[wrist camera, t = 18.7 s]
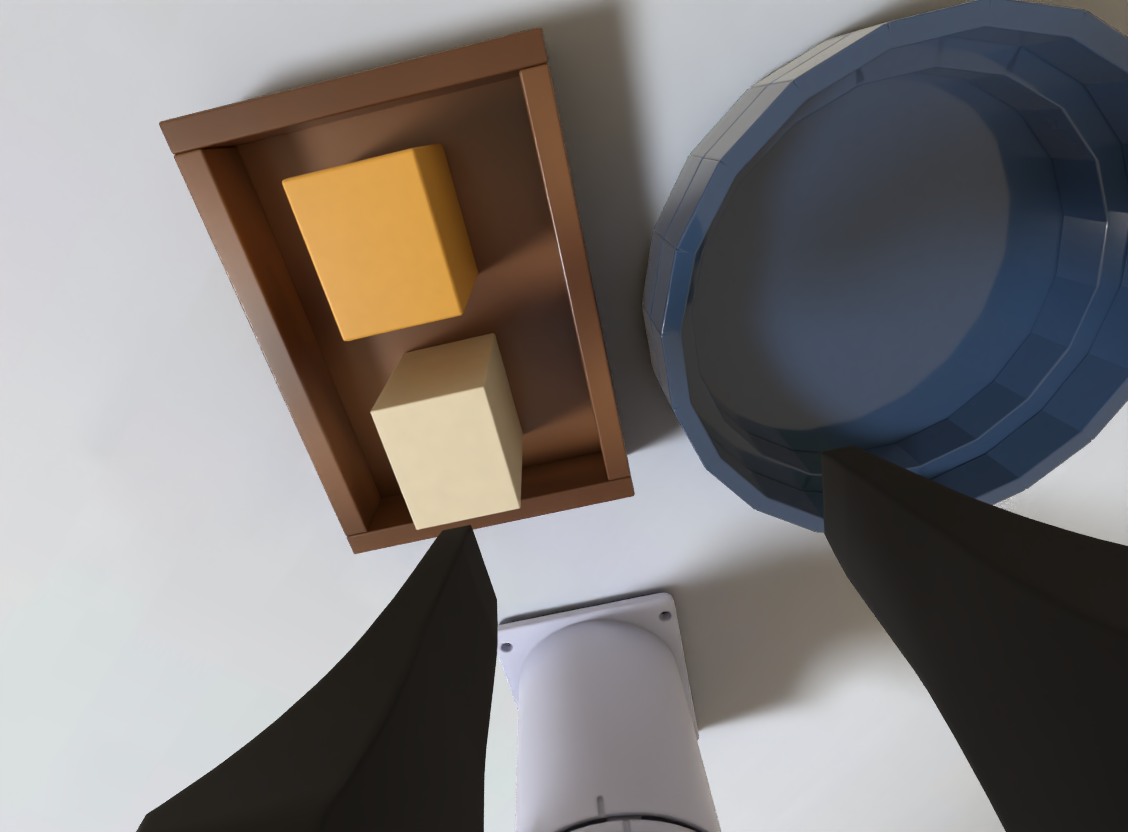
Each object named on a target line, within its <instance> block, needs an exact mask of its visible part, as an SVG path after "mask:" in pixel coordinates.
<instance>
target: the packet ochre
mask: <svg viewBox="0 0 1128 832" xmlns="http://www.w3.org/2000/svg"><path fill="white" fill-rule="evenodd" d="M282 185H283V187H284V190H285V192H286V195H287V198H288V200H289V203H290V205H291V208H292V210H293V213H294V215H295V218H296V221H297V223H298V226H299V228H300V231H301V233H302V236H303V238H304V241H305V244H306V246H307V249H308V251H309V254H310V256H311V259H312V261H313V264H314V267H315V269H316V272H317V274H318V277H319V279H320V282H321V284H322V287H323V290H324V292H325V295H326V297H327V300H328V302H329V305H330V308H331V310H332V313H333V315H334V318H335V320H336V323H337V325H338V328H339V331H340V333H341V336H342V338H343V340H344V341H351V340H355V339H359V338H364V337H368V336H373V335H377V334H381V333H386V332H390V331H395V330H399V329H403V328H408V327H412V326H417V325H421V324H425V323H430V322H434V321H439V320H443V319H447V318H452V317H456V316H461V315H462V314H463V312H464V310H465V307H466V305H467V302H468V299H469V297H470V294H471V291H472V289H473V286H474V283H475V281H476V278H477V276H478V270H477V266H476V263H475V259H474V256H473V252H472V248H471V245H470V241H469V238H468V234H467V230H466V227H465V223H464V220H463V216H462V212H461V209H460V205H459V202H458V198H457V194H456V191H455V187H454V184H453V180H452V176H451V173H450V169H449V166H448V162H447V158H446V155H445V151H444V148H443V145H442V144H440V143H438V144H432V145H427V146H421V147H415V148H410V149H406V150H402V151H397V152H393V153H389V154H385V155H381V156H377V157H373V158H369V159H364V160H360V161H356V162H352V163H348V164H344V165H340V166H336V167H332V168H327V169H323V170H319V171H315V172H311V173H307V174H303V175H299V176H294V177H290V178H286V179H284V180H283V181H282Z"/></svg>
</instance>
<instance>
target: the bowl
mask: <svg viewBox="0 0 1128 832" xmlns="http://www.w3.org/2000/svg"><path fill="white" fill-rule="evenodd" d="M654 230H655V231H653V234H652V241H651V247H650V254H649V260H648V267H647V273H646V279H645V286H644V292H643V299H642V303H643V304H642V309H643V315H644V321H645V327H646V333H647V339H648V345H649V351H650V357H651V363H652V368H653V371H654V373H655V375H656V377H657V379H658V382H659V384H660V386H661V388H662V390H663V392H664V394H665V396H666V398H667V400H668V402H669V404H670V406H671V408H672V410H673V412H674V414H675V416H676V417H677V419H678V421H679V423H680V425H681V426H682V428H683V430H684V432H685V433H686V435H687V437H688V439H689V441H690V442H691V444H692V446H693V448H694V449H695V451H696V453H697V455H698V457H699V458H700V460H701V462H702V464H703V465H704V467H705V468H706V470H708V471H709V472H710V473H711V474H712V475H714V476H715V477H716V478H717V479H718V480H720V481H721V482H722V483H723V484H724V485H726V486H727V487H728V488H729V489H730V490H732V491H733V492H734V493H735V494H736V495H738V496H739V497H740V498H741V499H742V500H744V501H745V502H746V503H747V504H748V505H750V506H751V507H752V508H753V509H756V510H757V511H760V512H763V513H766V514H768V515H771V516H774V517H776V518H779V519H782V520H784V521H787V522H790V523H793V524H795V525H798V526H801V527H803V528H806V529H809V530H811V531H814V532H821V533H824V509H823V484H822V458H821V452H822V451H827V450H832V449H837V448H842V447H847V446H851V445H852V446H855V447H858V448H860V449H863V450H865V451H867V452H870V453H872V454H874V455H876V456H879V457H881V458H883V459H885V460H888V461H890V462H892V463H894V464H896V465H898V466H901V467H903V468H905V469H907V470H909V471H912V472H914V473H916V474H918V475H920V476H923V477H925V478H927V479H929V480H932V481H934V482H936V483H939V484H941V485H943V486H946V487H948V488H950V489H953V490H955V491H957V492H960V493H962V494H965V495H967V496H970V497H972V498H975V499H977V500H980V501H983V502H985V503H988V504H990V505H994V504H996V503H998V502H1000V501H1003V500H1005V499H1007V498H1009V497H1011V496H1014V495H1016V494H1018V493H1020V492H1022V491H1024V490H1025V488H1026V489H1028V488H1029V487H1031V486H1032V485H1033V484H1035V483H1036V482H1037V481H1039V480H1040V479H1041V478H1043V477H1044V476H1046V475H1047V474H1048V473H1050V472H1051V471H1052V470H1054V469H1055V468H1056V467H1058V466H1059V465H1060V464H1062V463H1063V462H1064V461H1066V460H1067V459H1068V458H1070V457H1071V456H1072V455H1074V454H1075V453H1077V452H1078V451H1079V450H1081V449H1082V448H1083V447H1085V446H1086V445H1087V444H1089V443H1090V442H1091V440H1093V439H1095V437H1096V436H1097V435H1098V434H1099V433H1100V432H1101V431H1102V429H1103V428H1104V427H1105V426H1106V425H1107V424H1108V423H1109V421H1110V420H1111V419H1112V418H1113V417H1114V416H1115V415H1116V413H1117V412H1118V411H1119V410H1120V409H1121V408H1122V407H1123V405H1124V404H1125V403H1126V402H1127V401H1128V37H1127V36H1125V35H1124V34H1122V33H1121V32H1119V31H1118V30H1116V29H1114V28H1113V27H1111V26H1110V25H1108V24H1107V23H1105V22H1104V21H1102V20H1101V19H1099V18H1098V17H1096V16H1095V15H1093V14H1092V13H1090V12H1088V11H1085V10H1084V9H1079V8H1071V7H1064V6H1056V5H1049V4H1042V3H1034V2H1027V1H1019V0H974V1H970V2H966V3H962V4H958V5H954V6H950V7H946V8H941V9H937V10H933V11H929V12H925V13H921V14H917V15H913V16H909V17H904V18H900V19H896V20H892V21H888V22H885V23H882V24H878V25H875V26H872V27H868V28H865V29H861V30H858V31H855V32H851V33H848V34H844V35H841V36H838V37H834V38H831V39H828V40H826V41H824V42H822V43H820V44H819V45H817V46H816V47H814V48H812V49H811V50H809V51H807V52H806V53H804V54H803V55H801V56H799V57H798V58H796V59H795V60H793V61H791V62H790V63H788V64H787V65H785V66H783V67H782V68H780V69H778V70H777V71H775V72H774V73H772V74H770V75H769V76H767V77H766V78H764V79H762V80H761V81H759V82H758V83H756V84H754V85H753V86H752V87H751V88H750V89H747V90H746V91H745V93H744V94H743V95H742V96H741V97H740V98H739V99H738V100H737V102H736V103H735V104H734V105H733V106H732V107H731V108H730V109H729V110H728V112H727V113H726V114H725V115H724V116H723V117H722V118H721V119H720V121H719V122H718V123H717V124H716V125H715V126H714V127H713V128H712V130H711V131H710V132H709V133H708V134H707V135H706V136H705V137H704V139H703V140H702V141H701V142H700V143H699V144H698V145H697V146H696V148H695V149H694V150H693V151H692V152H691V153H690V155H689V156H688V158H687V160H686V162H685V164H684V166H683V168H682V171H681V173H680V175H679V177H678V179H677V181H676V183H675V185H674V187H673V189H672V191H671V193H670V196H669V198H668V200H667V202H666V204H665V206H664V208H663V210H662V212H661V214H660V216H659V218H658V221H657V223H656V225H655V227H654Z"/></svg>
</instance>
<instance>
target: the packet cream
mask: <svg viewBox="0 0 1128 832" xmlns="http://www.w3.org/2000/svg"><path fill="white" fill-rule="evenodd" d="M371 415H372V418H373V420H374V423H375V425H376V428H377V430H378V433H379V436H380V438H381V441H382V443H383V446H384V448H385V451H386V453H387V456H388V459H389V461H390V464H391V466H392V469H393V471H394V474H395V476H396V479H397V481H398V484H399V487H400V489H401V492H402V494H403V497H404V499H405V502H406V504H407V507H408V510H409V512H410V515H411V517H412V520H413V522H414V525H415V527H416V529H417V530H419V529H424V528H428V527H433V526H438V525H443V524H447V523H452V522H457V521H462V520H466V519H471V518H476V517H481V516H485V515H490V514H495V513H500V512H505V511H509V510H514V509H519V508H520V506H521V477H522V449H523V433H522V429H521V425H520V422H519V418H518V415H517V411H516V407H515V404H514V400H513V397H512V393H511V389H510V386H509V382H508V379H507V375H506V371H505V368H504V364H503V361H502V357H501V354H500V350H499V346H498V343H497V339H496V336H495V333H491V334H487V335H482V336H478V337H473V338H469V339H464V340H460V341H456V342H451V343H447V344H442V345H438V346H433V347H429V348H425V349H420V350H416V351H411V352H407V353H404V354H403V356H402V358H401V359H400V361H399V363H398V365H397V366H396V368H395V370H394V372H393V373H392V375H391V377H390V378H389V380H388V382H387V384H386V385H385V387H384V389H383V391H382V392H381V394H380V396H379V398H378V399H377V401H376V403H375V405H374V406H373V408H372V410H371Z"/></svg>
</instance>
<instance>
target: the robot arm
mask: <svg viewBox="0 0 1128 832" xmlns="http://www.w3.org/2000/svg"><path fill="white" fill-rule="evenodd" d="M821 458H822V484H823V509H824V534H825V536H826V538H827V540H828V542H829V544H830V546H831V548H832V550H833V552H834V554H835V556H836V557H837V559H838V561H839V563H840V565H841V567H842V568H843V570H844V572H845V574H846V576H847V577H848V579H849V580H850V582H851V583H852V584H853V586H854V587H855V589H856V590H857V592H858V593H859V594H860V596H861V597H862V599H863V600H864V601H865V603H866V604H867V606H868V607H869V608H870V610H871V611H872V613H873V614H874V615H875V617H876V618H877V619H878V621H879V622H880V624H881V625H882V626H883V628H884V629H885V631H886V632H887V633H888V635H889V636H890V637H891V639H892V640H893V642H894V643H895V644H896V646H897V647H898V648H899V650H900V651H901V653H902V654H903V655H904V657H905V658H906V660H907V661H908V662H909V664H910V665H911V666H912V668H913V669H914V671H915V672H916V674H917V675H918V677H919V678H920V680H921V681H922V683H923V684H924V686H925V687H926V689H927V690H928V692H929V694H930V695H931V697H932V699H933V701H934V702H935V704H936V706H937V708H938V709H939V711H940V713H941V714H942V716H943V718H944V720H945V721H946V723H947V725H948V726H949V728H950V730H951V732H952V733H953V735H954V737H955V739H956V740H957V742H958V744H959V746H960V748H961V749H962V751H963V753H964V755H965V757H966V758H967V760H968V762H969V764H970V766H971V767H972V769H973V771H974V773H975V775H976V777H977V778H978V780H979V782H980V784H981V786H982V787H983V789H984V791H985V793H986V795H987V797H988V798H989V800H990V802H991V804H992V806H993V808H994V810H995V812H996V814H997V816H998V818H999V820H1000V821H1001V823H1002V825H1003V827H1004V829H1005V831H1006V832H1128V546H1125V545H1121V544H1117V543H1113V542H1109V541H1105V540H1101V539H1097V538H1093V537H1089V536H1086V535H1082V534H1078V533H1075V532H1071V531H1068V530H1065V529H1062V528H1058V527H1055V526H1052V525H1049V524H1046V523H1042V522H1039V521H1036V520H1033V519H1029V518H1026V517H1024V516H1021V515H1018V514H1015V513H1012V512H1009V511H1006V510H1004V509H1001V508H998V507H996V506H993V505H990V504H988V503H985V502H983V501H980V500H977V499H975V498H972V497H970V496H967V495H965V494H962V493H960V492H957V491H955V490H953V489H950V488H948V487H946V486H943V485H941V484H939V483H936V482H934V481H932V480H929V479H927V478H925V477H923V476H920V475H918V474H916V473H914V472H912V471H909V470H907V469H905V468H903V467H901V466H898V465H896V464H894V463H892V462H890V461H888V460H885V459H883V458H881V457H879V456H876V455H874V454H872V453H870V452H867V451H865V450H863V449H860V448H858V447H855V446H852V445H851V446H847V447H842V448H837V449H832V450H827V451H822V452H821ZM664 611H668V613H666V614H661V613H662V612H664ZM504 643H510V645H505V644H504ZM497 654H498V656H499V659H500V662H501V665H502V668H503V670H504V673H505V676H506V679H507V681H508V684H509V687H510V690H511V693H512V695H513V698H514V701H515V704H516V706H517V709H518V736H517V773H516V810H515V832H721V829H720V825H719V821H718V817H717V814H716V810H715V806H714V802H713V798H712V795H711V791H710V787H709V783H708V780H707V776H706V772H705V768H704V765H703V761H702V757H701V753H700V750H699V746H698V742H697V741H698V739H699V734H698V728H697V723H696V717H695V712H694V706H693V701H692V695H691V690H690V684H689V679H688V673H687V668H686V662H685V657H684V651H683V646H682V640H681V635H680V629H679V624H678V618H677V613H676V608H675V603H674V599H673V597H672V596H671V595H670V594H668V593H657V594H652V595H647V596H642V597H637V598H632V599H627V600H622V601H617V602H612V603H607V604H602V605H597V606H592V607H587V608H582V609H577V610H572V611H567V612H562V613H557V614H552V615H547V616H542V617H537V618H532V619H527V620H522V621H517V622H512V623H507V624H502V625H499V626H498V621H497V599H496V596H495V593H494V590H493V587H492V584H491V581H490V578H489V575H488V573H487V570H486V567H485V564H484V561H483V558H482V555H481V552H480V549H479V547H478V544H477V541H476V538H475V535H474V532H473V529H472V526H471V525H466V526H462V527H457V528H452V529H447V530H442V532H441V533H440V534H439V536H438V537H437V538H436V540H435V541H434V543H433V544H432V545H431V547H430V548H429V550H428V551H427V553H426V554H425V555H424V557H423V558H422V560H421V561H420V562H419V564H418V565H417V567H416V568H415V570H414V571H413V572H412V574H411V575H410V576H409V578H408V579H407V581H406V582H405V583H404V585H403V586H402V587H401V589H400V590H399V591H398V593H397V594H396V596H395V597H394V598H393V599H392V601H391V602H390V603H389V604H388V606H387V607H386V608H385V609H384V611H383V612H382V613H381V614H380V615H379V617H378V618H377V619H376V620H375V622H374V623H373V624H372V625H371V627H370V628H369V629H368V630H367V631H366V633H365V634H364V635H363V636H362V637H361V638H360V640H359V641H358V642H357V643H356V644H355V645H354V646H353V647H352V648H351V650H350V651H349V652H348V653H347V654H346V655H345V656H344V657H343V658H342V659H341V660H340V661H339V662H338V663H337V664H336V665H335V666H334V667H333V668H332V669H331V670H330V671H329V672H328V673H327V674H326V675H325V676H324V677H323V678H322V679H321V680H320V681H319V682H318V683H317V684H316V685H315V686H314V687H313V688H312V689H311V690H309V691H308V692H307V693H306V694H305V695H304V696H303V697H302V698H301V699H299V700H298V701H297V702H296V703H295V704H294V705H293V706H292V707H291V708H289V709H288V710H287V711H286V712H285V713H284V714H283V715H282V716H281V717H279V718H278V719H277V720H276V721H275V722H274V723H272V724H271V725H270V726H269V727H267V728H266V729H265V730H264V731H262V732H261V733H260V734H259V735H258V736H256V737H255V738H254V739H253V740H251V741H250V742H249V743H247V744H246V745H245V746H243V747H242V748H241V749H240V750H238V751H237V752H236V753H234V754H233V755H232V756H230V757H229V758H228V759H227V760H225V761H224V762H222V763H221V764H220V765H218V766H217V767H216V768H214V769H213V770H211V771H210V772H209V773H207V774H206V775H204V776H203V777H201V778H200V779H198V780H197V781H195V782H194V783H193V784H191V785H190V786H188V787H187V788H185V789H184V790H182V791H181V792H179V793H178V794H176V795H175V796H174V797H172V798H171V799H169V800H168V801H166V802H165V803H163V804H162V805H160V806H159V807H157V808H156V809H154V810H153V811H151V812H149V813H148V814H146V816H145V818H144V819H143V821H142V823H141V824H140V826H139V828H138V830H137V831H136V832H484V772H485V758H486V746H487V737H488V728H489V720H490V711H491V702H492V694H493V685H494V676H495V667H496V657H497Z"/></svg>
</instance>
